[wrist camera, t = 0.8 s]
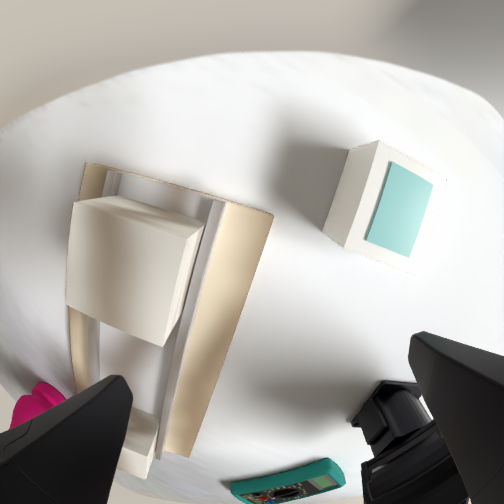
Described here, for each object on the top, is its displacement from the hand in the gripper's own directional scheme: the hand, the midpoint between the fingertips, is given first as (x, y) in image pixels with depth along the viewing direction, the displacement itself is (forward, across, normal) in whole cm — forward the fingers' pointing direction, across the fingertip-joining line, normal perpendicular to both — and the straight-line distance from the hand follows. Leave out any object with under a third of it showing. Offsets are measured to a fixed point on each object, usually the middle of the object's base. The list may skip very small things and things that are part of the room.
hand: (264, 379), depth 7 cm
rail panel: (+12, +12, +6) cm, 18 cm away
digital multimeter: (+13, +2, +32) cm, 34 cm away
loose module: (+12, -8, -3) cm, 15 cm away
